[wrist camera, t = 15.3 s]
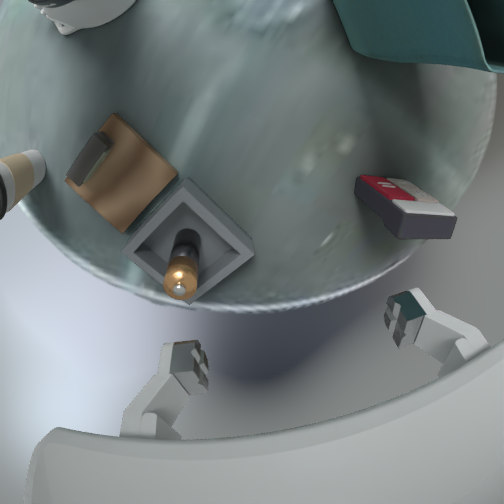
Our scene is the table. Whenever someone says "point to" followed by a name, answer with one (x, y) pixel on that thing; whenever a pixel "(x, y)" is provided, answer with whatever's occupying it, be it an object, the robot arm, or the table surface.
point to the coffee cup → (19, 177)
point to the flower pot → (427, 31)
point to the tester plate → (119, 173)
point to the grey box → (405, 208)
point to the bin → (199, 219)
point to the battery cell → (183, 265)
